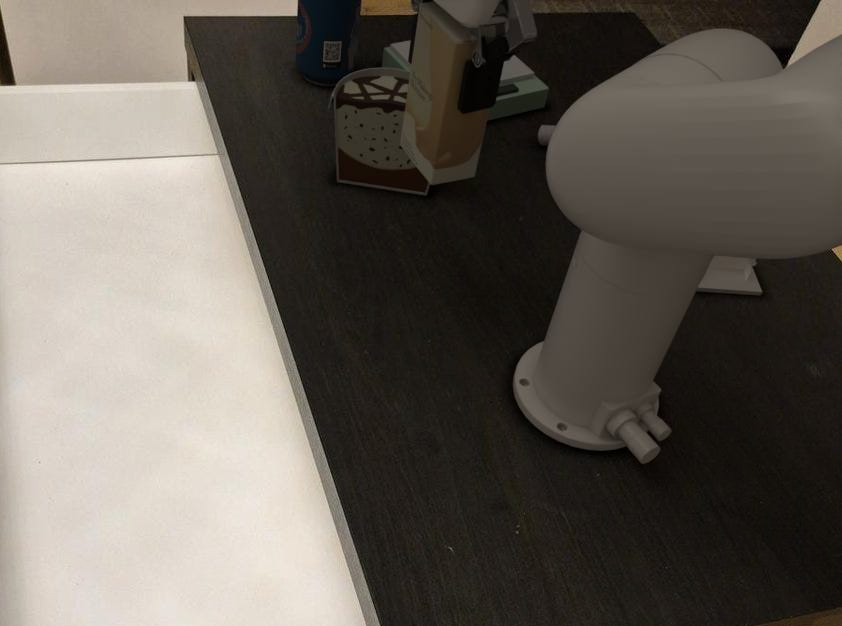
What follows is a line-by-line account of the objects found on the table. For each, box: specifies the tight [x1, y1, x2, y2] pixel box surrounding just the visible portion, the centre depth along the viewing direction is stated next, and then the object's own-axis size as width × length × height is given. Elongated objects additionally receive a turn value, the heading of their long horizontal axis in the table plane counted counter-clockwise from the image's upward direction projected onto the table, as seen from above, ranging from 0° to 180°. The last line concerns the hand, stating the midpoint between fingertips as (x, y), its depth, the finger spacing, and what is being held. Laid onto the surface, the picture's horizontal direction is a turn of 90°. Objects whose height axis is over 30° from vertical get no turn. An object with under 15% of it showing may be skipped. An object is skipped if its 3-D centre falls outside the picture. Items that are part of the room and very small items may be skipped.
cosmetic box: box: [400, 1, 496, 186], centre depth 75 cm, size 6×4×12 cm
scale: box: [381, 39, 550, 122], centre depth 110 cm, size 14×14×3 cm
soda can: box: [295, 0, 362, 87], centre depth 105 cm, size 7×7×12 cm
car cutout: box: [696, 255, 763, 297], centre depth 93 cm, size 15×7×4 cm, turn 91°
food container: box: [326, 67, 431, 196], centre depth 96 cm, size 12×6×10 cm, turn 84°
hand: (450, 83), depth 74 cm, fingers closed on cosmetic box, 6 cm apart
